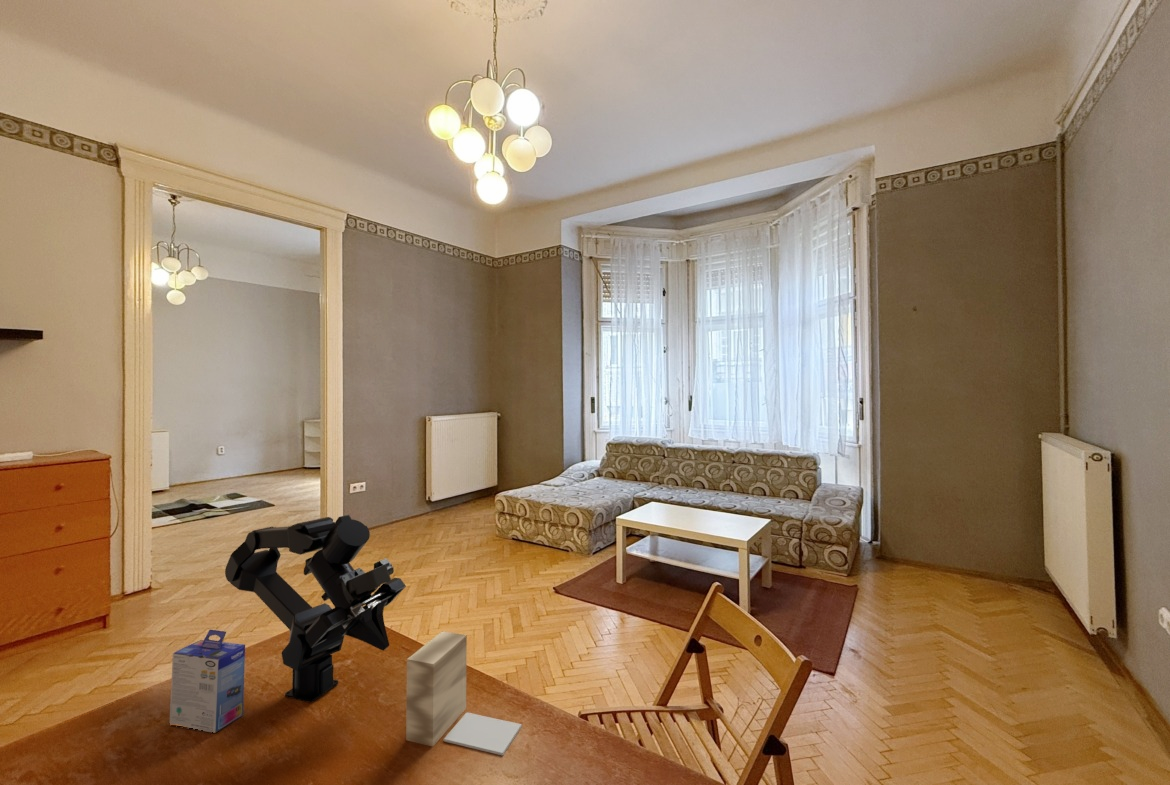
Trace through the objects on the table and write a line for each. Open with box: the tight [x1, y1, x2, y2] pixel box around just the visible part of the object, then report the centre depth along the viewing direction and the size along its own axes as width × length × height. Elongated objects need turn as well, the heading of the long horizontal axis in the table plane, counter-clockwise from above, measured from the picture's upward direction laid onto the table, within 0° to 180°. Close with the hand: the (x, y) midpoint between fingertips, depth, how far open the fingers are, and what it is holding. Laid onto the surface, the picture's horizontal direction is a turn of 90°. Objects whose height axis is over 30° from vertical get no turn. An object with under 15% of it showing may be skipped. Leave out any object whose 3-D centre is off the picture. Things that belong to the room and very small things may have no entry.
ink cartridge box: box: [168, 629, 246, 734], centre depth 84 cm, size 10×6×14 cm, turn 78°
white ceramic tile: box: [443, 712, 523, 756], centre depth 80 cm, size 10×7×1 cm, turn 73°
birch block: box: [405, 631, 468, 747], centre depth 83 cm, size 5×10×13 cm, turn 163°
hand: (386, 648), depth 86 cm, fingers closed
